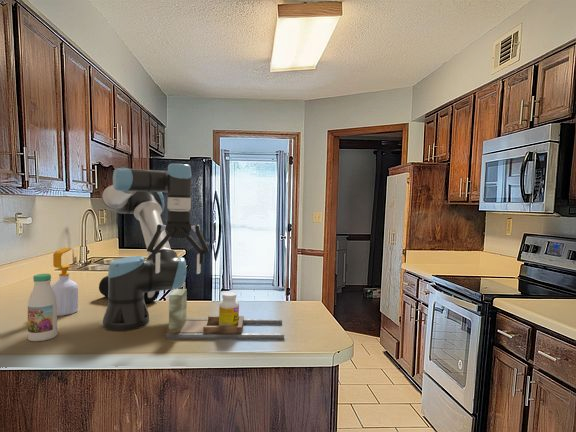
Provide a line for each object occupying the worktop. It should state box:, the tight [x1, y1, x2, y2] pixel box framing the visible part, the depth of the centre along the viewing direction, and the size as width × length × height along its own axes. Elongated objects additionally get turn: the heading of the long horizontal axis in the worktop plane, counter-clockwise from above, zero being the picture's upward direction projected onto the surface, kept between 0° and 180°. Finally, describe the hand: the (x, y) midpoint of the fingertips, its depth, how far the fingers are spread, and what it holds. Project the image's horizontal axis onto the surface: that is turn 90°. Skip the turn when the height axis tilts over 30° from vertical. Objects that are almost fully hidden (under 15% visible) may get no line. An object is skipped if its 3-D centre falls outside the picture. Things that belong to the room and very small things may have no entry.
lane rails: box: [165, 318, 285, 340], centre depth 126 cm, size 38×15×2 cm, turn 94°
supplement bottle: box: [218, 291, 240, 326], centre depth 126 cm, size 7×7×13 cm
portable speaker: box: [98, 275, 161, 304], centre depth 159 cm, size 26×10×10 cm, turn 71°
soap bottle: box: [51, 247, 79, 317], centre depth 140 cm, size 9×9×25 cm
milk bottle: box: [27, 273, 58, 342], centre depth 116 cm, size 8×8×20 cm
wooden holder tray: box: [165, 288, 245, 335], centre depth 125 cm, size 24×11×13 cm, turn 94°
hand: (178, 273), depth 124 cm, fingers open, 13 cm apart
